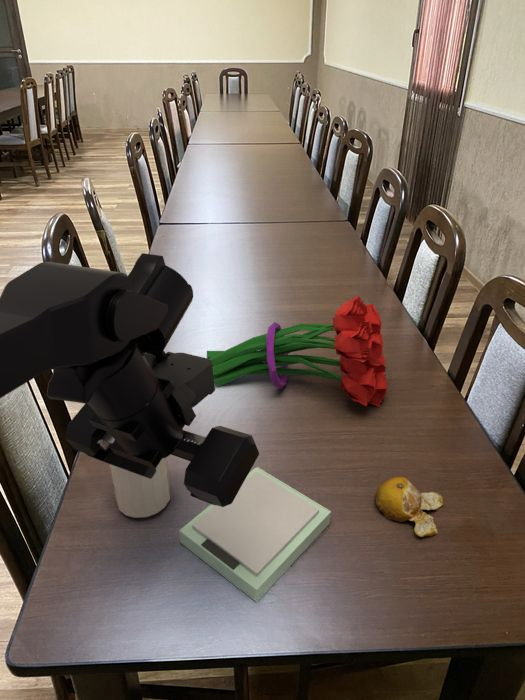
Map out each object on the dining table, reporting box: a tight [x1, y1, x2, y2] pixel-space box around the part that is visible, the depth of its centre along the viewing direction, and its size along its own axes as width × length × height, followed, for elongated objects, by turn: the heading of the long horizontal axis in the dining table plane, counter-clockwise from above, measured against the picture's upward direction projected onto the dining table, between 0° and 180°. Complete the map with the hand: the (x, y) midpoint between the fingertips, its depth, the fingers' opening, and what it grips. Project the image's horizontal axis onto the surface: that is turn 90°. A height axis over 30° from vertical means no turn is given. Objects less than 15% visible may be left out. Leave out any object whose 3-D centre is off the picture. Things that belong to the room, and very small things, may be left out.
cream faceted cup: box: [108, 457, 171, 519], centre depth 67 cm, size 7×7×10 cm
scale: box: [179, 466, 332, 603], centre depth 65 cm, size 14×12×3 cm
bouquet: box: [206, 294, 388, 407], centre depth 88 cm, size 20×16×30 cm
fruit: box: [374, 476, 444, 538], centre depth 68 cm, size 8×8×4 cm
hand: (187, 487), depth 55 cm, fingers open, 9 cm apart
